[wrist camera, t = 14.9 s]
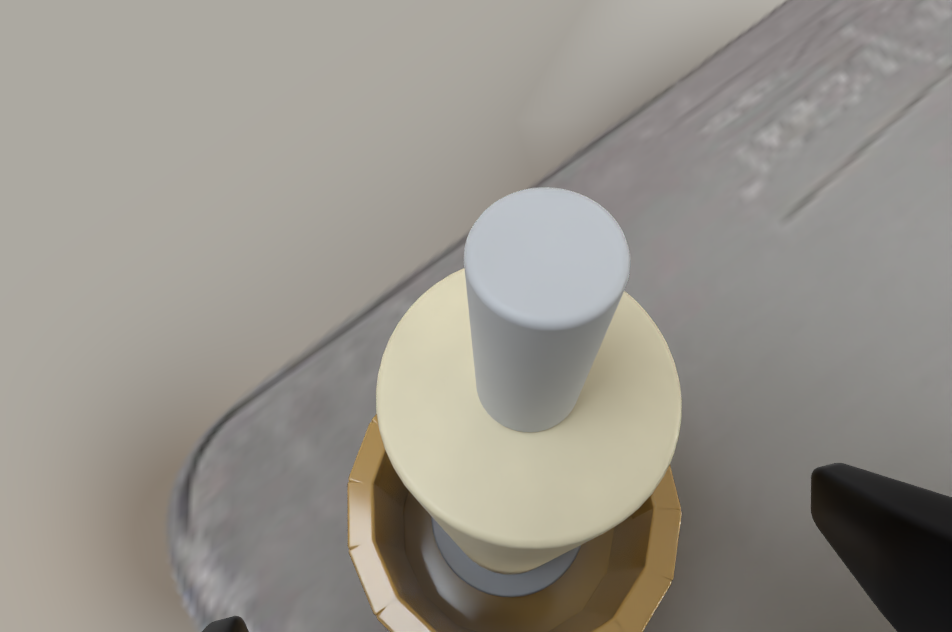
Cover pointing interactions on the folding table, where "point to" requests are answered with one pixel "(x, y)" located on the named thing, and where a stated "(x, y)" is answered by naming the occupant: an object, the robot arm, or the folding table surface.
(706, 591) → the folding table surface
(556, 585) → the holder
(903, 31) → the folding table surface
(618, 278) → the kitchen roll stand
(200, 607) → the folding table surface
